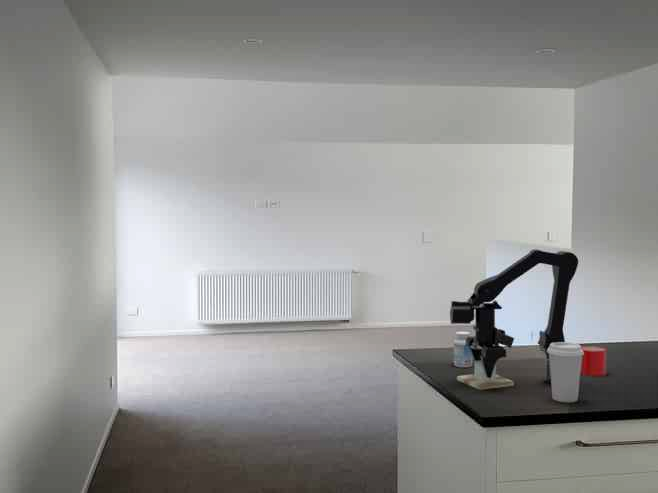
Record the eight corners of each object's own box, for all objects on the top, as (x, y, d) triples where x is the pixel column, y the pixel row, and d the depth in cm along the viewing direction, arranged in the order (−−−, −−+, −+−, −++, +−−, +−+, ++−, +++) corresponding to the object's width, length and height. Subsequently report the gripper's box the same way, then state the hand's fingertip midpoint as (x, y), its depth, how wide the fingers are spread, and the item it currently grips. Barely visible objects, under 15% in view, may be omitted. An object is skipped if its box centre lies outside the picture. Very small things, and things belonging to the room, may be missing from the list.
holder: (513, 385, 193) (513, 374, 192) (479, 389, 188) (479, 378, 188) (489, 376, 204) (489, 365, 204) (457, 380, 199) (457, 369, 199)
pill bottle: (471, 363, 220) (471, 331, 220) (473, 368, 214) (473, 334, 214) (453, 363, 221) (453, 330, 220) (454, 367, 215) (454, 334, 214)
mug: (571, 366, 215) (571, 343, 214) (609, 372, 207) (609, 348, 206) (562, 371, 209) (562, 347, 208) (600, 377, 201) (601, 352, 200)
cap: (475, 381, 193) (475, 364, 193) (474, 375, 199) (474, 359, 199) (496, 381, 193) (496, 364, 192) (494, 376, 199) (494, 360, 198)
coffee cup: (574, 393, 183) (575, 341, 182) (589, 403, 174) (590, 348, 173) (541, 394, 183) (541, 341, 182) (554, 404, 173) (554, 349, 173)
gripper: (523, 328, 187) (523, 381, 188) (499, 317, 205) (499, 366, 206) (486, 329, 185) (486, 383, 186) (465, 318, 204) (465, 367, 205)
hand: (485, 374), depth 196 cm, fingers closed on cap, 6 cm apart
